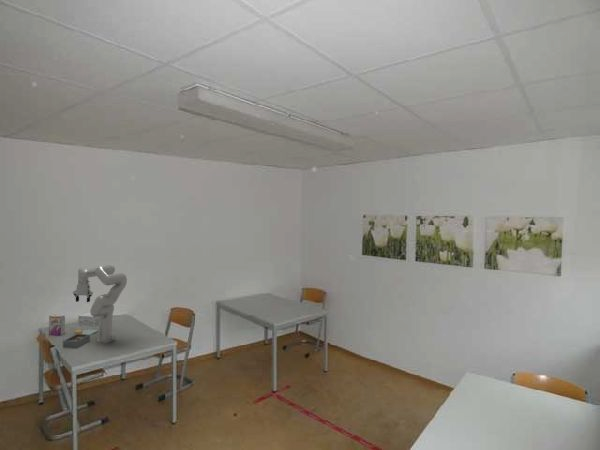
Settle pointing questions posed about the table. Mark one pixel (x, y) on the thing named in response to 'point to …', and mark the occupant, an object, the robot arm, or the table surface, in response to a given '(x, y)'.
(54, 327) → the candy bar box
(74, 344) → the tub
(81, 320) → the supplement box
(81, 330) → the tool with wooden handle
